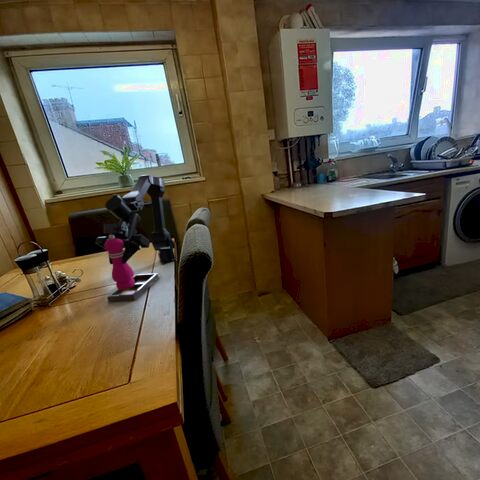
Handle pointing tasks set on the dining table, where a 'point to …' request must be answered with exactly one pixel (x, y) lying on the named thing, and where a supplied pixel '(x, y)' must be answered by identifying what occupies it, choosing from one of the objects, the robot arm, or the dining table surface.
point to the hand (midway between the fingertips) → (117, 263)
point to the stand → (134, 288)
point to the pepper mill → (119, 264)
